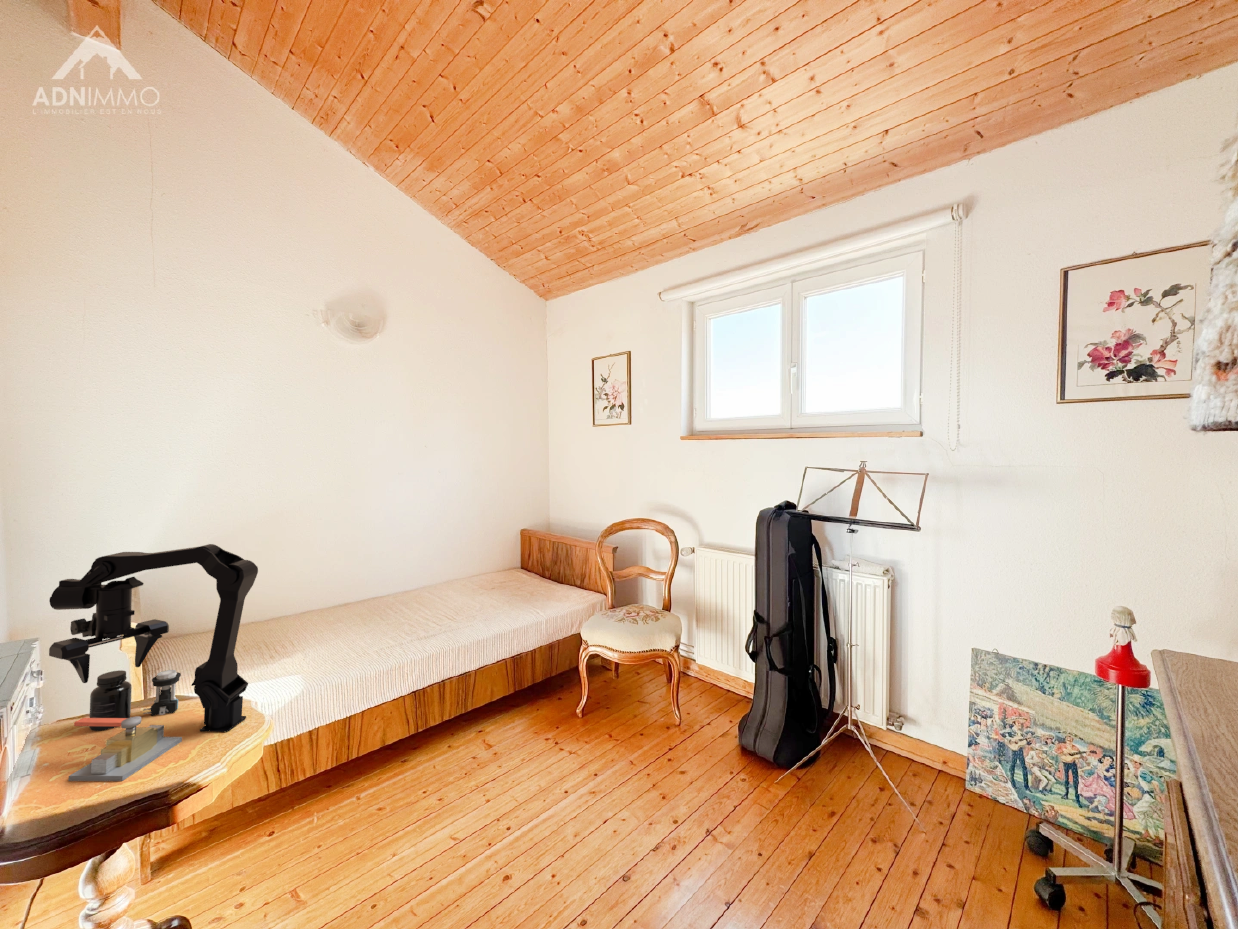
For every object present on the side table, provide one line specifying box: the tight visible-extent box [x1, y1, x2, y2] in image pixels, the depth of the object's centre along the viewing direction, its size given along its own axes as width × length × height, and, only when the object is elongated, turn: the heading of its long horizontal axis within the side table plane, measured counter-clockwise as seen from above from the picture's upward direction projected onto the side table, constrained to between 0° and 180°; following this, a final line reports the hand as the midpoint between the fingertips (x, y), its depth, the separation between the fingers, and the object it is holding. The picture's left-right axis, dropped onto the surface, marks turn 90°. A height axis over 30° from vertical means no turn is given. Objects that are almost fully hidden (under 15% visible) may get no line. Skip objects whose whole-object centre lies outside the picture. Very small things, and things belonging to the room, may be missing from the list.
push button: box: [142, 669, 182, 716], centre depth 121 cm, size 7×5×10 cm
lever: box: [73, 715, 142, 730], centre depth 102 cm, size 12×3×1 cm, turn 94°
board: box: [68, 736, 183, 782], centre depth 102 cm, size 10×14×1 cm
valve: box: [90, 724, 165, 774], centre depth 102 cm, size 5×13×6 cm, turn 4°
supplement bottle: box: [88, 669, 132, 732], centre depth 115 cm, size 7×7×12 cm
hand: (112, 674), depth 112 cm, fingers open, 9 cm apart
